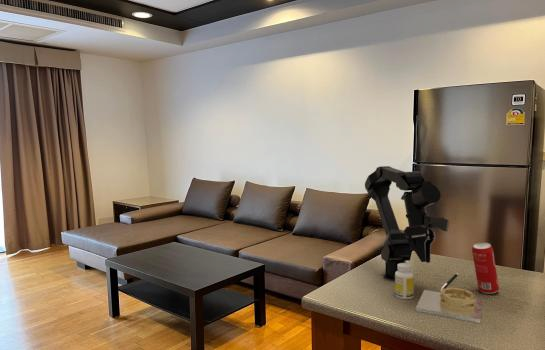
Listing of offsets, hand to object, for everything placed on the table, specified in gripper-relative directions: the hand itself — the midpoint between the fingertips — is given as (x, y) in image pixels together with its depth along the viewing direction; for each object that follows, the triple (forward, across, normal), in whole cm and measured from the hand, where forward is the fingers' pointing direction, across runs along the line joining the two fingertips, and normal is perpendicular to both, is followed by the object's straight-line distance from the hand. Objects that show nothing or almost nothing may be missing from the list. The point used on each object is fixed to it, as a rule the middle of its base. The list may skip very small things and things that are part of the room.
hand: (426, 262), depth 115 cm
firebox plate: (+13, +2, -4) cm, 14 cm away
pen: (+7, +21, -3) cm, 22 cm away
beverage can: (+10, +18, -14) cm, 24 cm away
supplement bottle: (+9, +4, +9) cm, 13 cm away
